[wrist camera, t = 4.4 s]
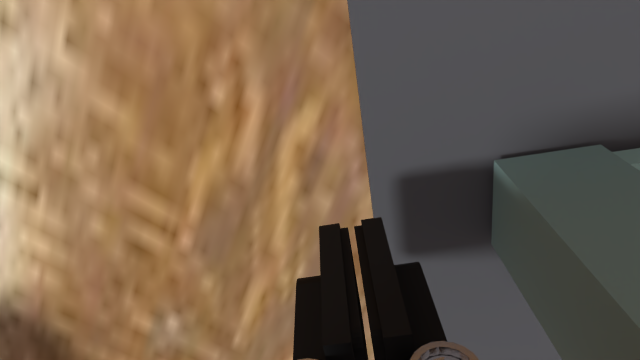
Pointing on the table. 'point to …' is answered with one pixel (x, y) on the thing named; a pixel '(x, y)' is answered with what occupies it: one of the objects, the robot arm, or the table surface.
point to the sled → (574, 246)
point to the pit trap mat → (483, 133)
